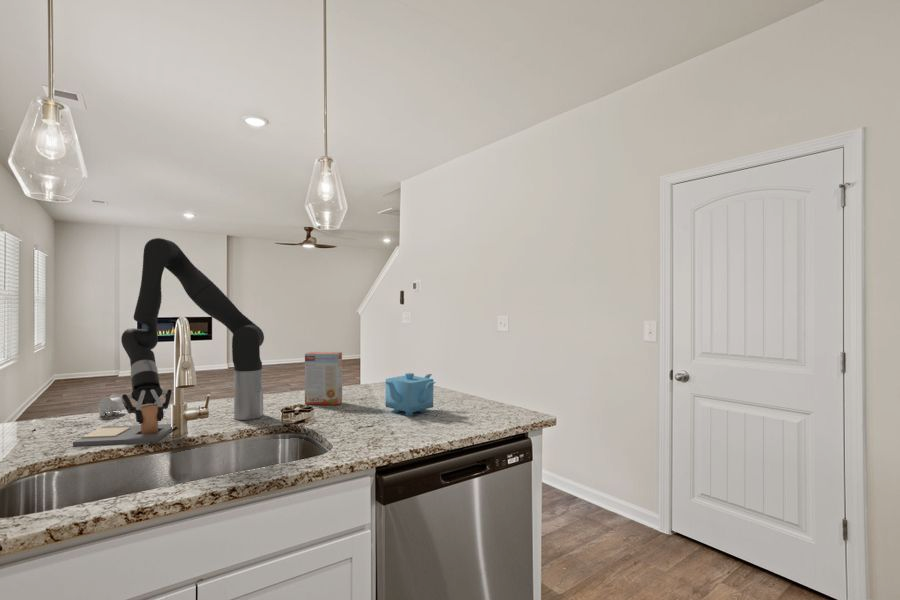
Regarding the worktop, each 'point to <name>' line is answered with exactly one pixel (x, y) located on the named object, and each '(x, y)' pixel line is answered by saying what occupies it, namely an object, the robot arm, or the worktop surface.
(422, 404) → the teakettle
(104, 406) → the elephant figurine
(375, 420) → the worktop surface
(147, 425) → the peg
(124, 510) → the worktop surface
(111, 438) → the pocket plate
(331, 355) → the cracker box
